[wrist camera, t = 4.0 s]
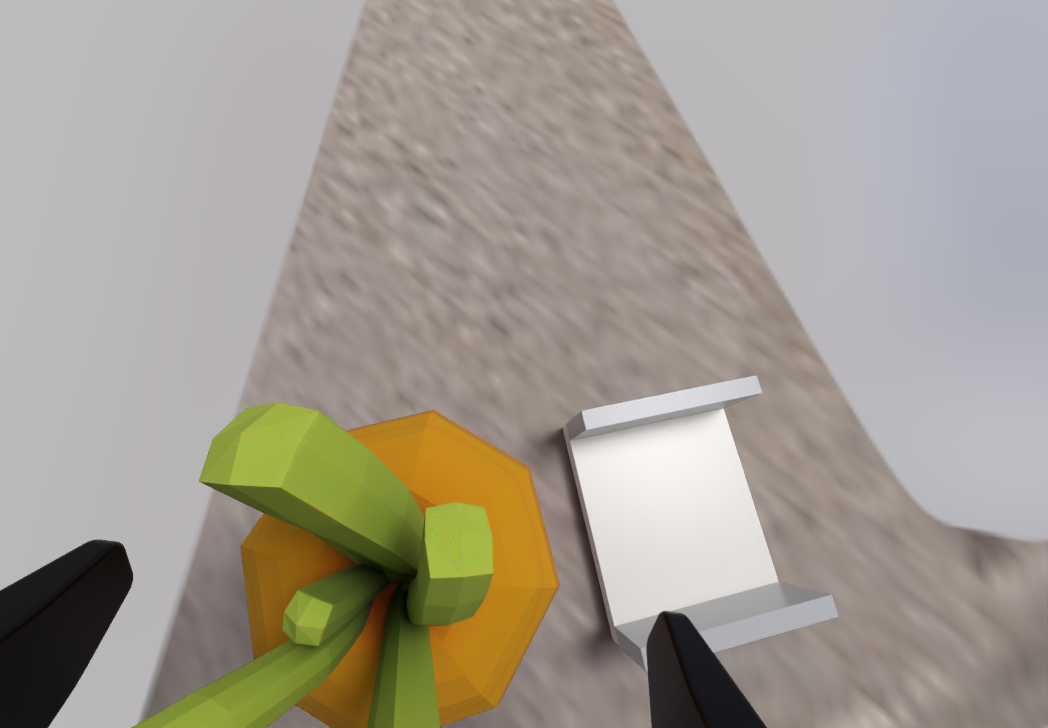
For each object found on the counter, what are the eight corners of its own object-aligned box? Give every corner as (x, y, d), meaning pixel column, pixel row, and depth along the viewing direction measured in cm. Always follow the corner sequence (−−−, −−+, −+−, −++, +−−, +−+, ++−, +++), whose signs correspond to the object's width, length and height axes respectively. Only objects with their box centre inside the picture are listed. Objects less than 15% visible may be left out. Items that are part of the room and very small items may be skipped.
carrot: (502, 618, 17) (656, 1196, 3) (354, 599, 17) (-319, 1133, 3) (522, 470, 19) (694, 346, 4) (385, 450, 18) (67, 244, 4)
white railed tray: (771, 596, 18) (838, 616, 15) (612, 640, 17) (646, 672, 14) (709, 397, 20) (756, 374, 17) (562, 427, 19) (581, 411, 16)
